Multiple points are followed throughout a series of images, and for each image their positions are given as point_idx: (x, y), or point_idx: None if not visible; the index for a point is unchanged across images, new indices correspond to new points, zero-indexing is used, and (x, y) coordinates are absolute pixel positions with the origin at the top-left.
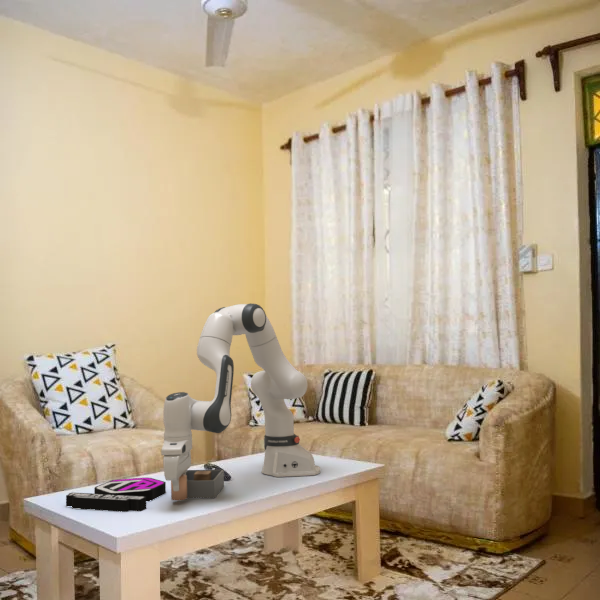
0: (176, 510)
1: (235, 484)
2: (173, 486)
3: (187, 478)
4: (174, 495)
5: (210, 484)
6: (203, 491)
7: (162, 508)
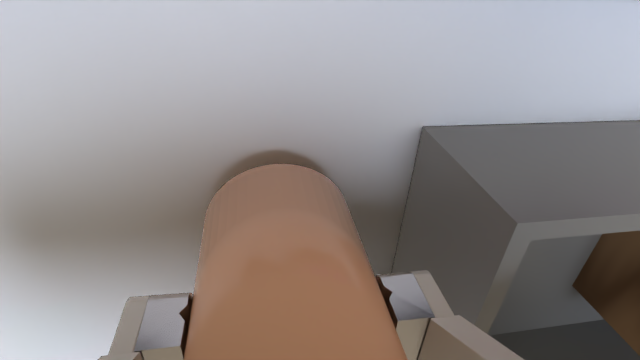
0: (30, 247)
1: None
2: (112, 346)
3: None
4: (203, 238)
5: None
6: None
7: (58, 116)
